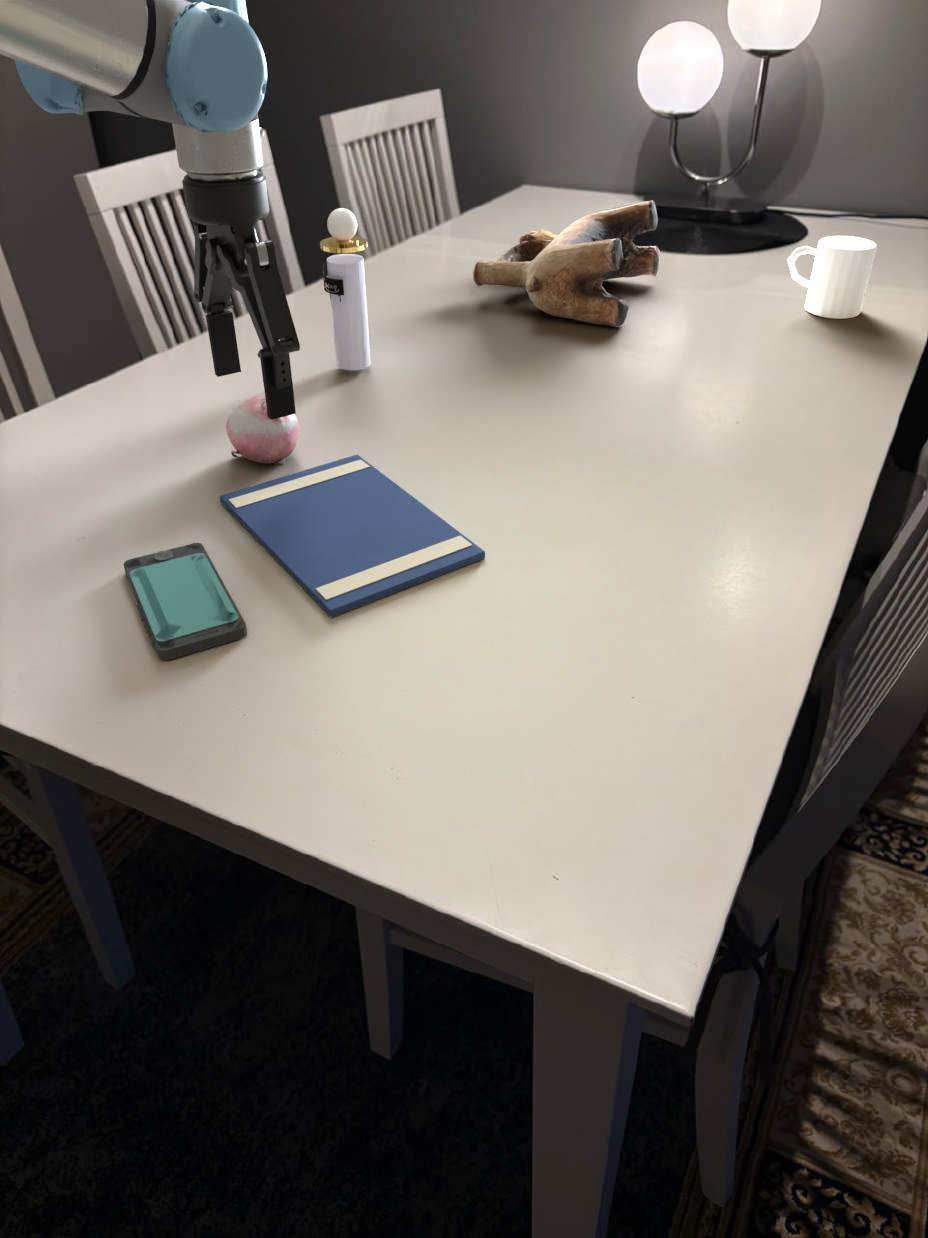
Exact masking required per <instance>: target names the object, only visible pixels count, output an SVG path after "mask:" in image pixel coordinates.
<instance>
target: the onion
mask: <svg viewBox="0 0 928 1238" xmlns="http://www.w3.org/2000/svg"><path fill="white" fill-rule="evenodd" d="M225 429H226V434H227V438H228V439H229V441H230V444H231V445H232V448H230V454H231V456H232V457H233V458H236V459H241V457H240V456H239V455H241V456H242V457H244V458H245V459H247V460H250V461H253V462H256V463H261V464H278V465H279V464H280V465H285V460H286V458H288V457H289V456H290V455H291V454H292V453H293V452H294V450H295V448H296V446H297V442H298V438H299V435H300V423H299V420H298V417H297V414H292V415H288V416H284V417H281V418H277V419H273V420H271V419H269V418H268V414H267V406H266V399H265V394H263V395H262V394H261V395H255V396H252V397H249V398H247V399H245V400H243V401H242V402H240V403H239V404H238V405H236V406H235V407H234V408H233V409H232V411H231V412H230V414H229V415H228V417H227V420H226V425H225Z"/></svg>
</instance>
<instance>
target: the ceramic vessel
mask: <svg viewBox="0 0 928 1238" xmlns="http://www.w3.org/2000/svg"><path fill="white" fill-rule="evenodd" d="M657 212H658V211H657V206H656V203H655V201H654V200H652V199H651V200H647V201H642V202H638V203H635V204H634V203H633V204H629V205H625V206H622V207H618V208H617V207H616V208H613V209H612V208H611V209H608V210H603V211H599V212H594V213H590V214H587V215H585V216H582V217H580V218H579V219H578V218H577V220H575V221H574V222H572V223H571V224H570V225H568V226H567V227H565V228H564V229H563V230H562V231H561V232H560V233H559V234H555V233H552V232H551V231H550V230H548V229H545V228H543V229H538V230H537V231H535V230H533V231H529V232H528V233H526V234H523V235H521V236H520V237H519V240H518V244H515V245H514V246H511V247H510V248H508V249H507V250H505V251H504V252H503V253H502V254H501V256H500V257H499V258H498V259H497V260H478V261H476V263H475V264H474V266H473V269H472V279H473V282H474V284H476V287H481V286H499V287H500V286H501V287H507V288H523V289H525V290H526V291H527V294H528V298H529V300H530V301H531V303H532V304H533V305H534V307H535V308H536V309H538V310H540V311H542V312H543V313H545V314H547V315H549V316H551V317H552V316H553V317H556V318H564V319H570V320H576V321H579V322H583V323H586V324H593V325H600V326H612V327H617V328H619V327H622V326H623V324H625V321H626V319H627V317H628V312H629V308H630V307H629V304H628V301H626V300H625V299H624V298H623V299H621V298H618V297H616V296H614V295H613V294H611V293H609V292H607V290H606V289H605V288H604V286H602V285H603V282H604V281H608V280H612V279H613V280H614V279H621V278H635V277H641V276H651V277H656V276H657V274H658V272H659V268H660V261H661V251H660V249H659V247H658V246H657V245H654V246H653V245H647V246H646V245H645V246H641V245H640V246H639V245H636V244H635V243H634V242H633V241H634V238H637V236H639V235H641V234H644V233H648V232H651V231H656V229H657V226H658V221H659V217H658V213H657Z"/></svg>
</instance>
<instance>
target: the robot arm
mask: <svg viewBox="0 0 928 1238" xmlns="http://www.w3.org/2000/svg"><path fill="white" fill-rule="evenodd" d="M246 4H247V2H246V0H0V55H1V56H4V57H6V58H9V59H11V60H13V61H14V63H15V67H16V70H17V74H18V76H19V78H20V80H21V83H22V85H23V87H24V89H25V90H26V92H27V94H28V95H29V97H30V98H31V99H32V101H33V102H34V103H35V104H36V105H37V107H39V108H40V109H42V111H45V112H47V113H49V114H55V115H56V114H57V115H58V114H76V115H79V116H82V115H83V116H84V114H85V113H89V112H97V111H98V112H100V111H101V112H103V111H104V112H113V113H118V114H123V115H128V116H133V117H138V118H142V119H147V120H158V121H162V122H166V123H169V124H171V126H172V132H173V138H174V139H173V140H174V145H175V151H176V157H177V163H178V167H179V169H180V170H182V171H183V172H185V173H186V174H185V175H184V176H183V179H181V183H182V188H183V189H182V190H183V195H184V201H185V208H186V214H187V217H188V218H189V219H190V220H191V221H192V227H193V233H194V273H193V275H194V276H193V277H194V278H193V281H194V282H193V283H194V284H193V297H194V300H195V302H196V303H197V304H198V303H200V304H201V309H202V311H203V313H204V314H205V320H206V326H207V333H208V339H209V345H210V350H211V356H212V363H213V369H214V375H215V377H217V378H220V377H223V376H229V375H234V374H237V373H242V368H241V362H240V355H239V348H238V340H237V334H236V326H235V321H234V313H233V312H232V311H230V310H229V309H234V308H235V305H234V303H233V302H232V299H231V296H232V292H233V289H234V290H235V291H236V292H238V293H240V294H241V297H242V299H243V302H244V304H245V307H246V309H247V312H248V315H249V317H250V320H251V322H252V326H253V328H254V330H255V332H256V335H257V337H258V340H259V342H260V345H261V347H262V348H260V349H259V350H258V352H257V354H256V355H257V357H258V359H259V360H260V367H261V375H262V382H263V389H264V390H263V391H264V395H265V399H266V406H267V414H268V418H269V419H271V420H273V419H277V418H281V417H284V416H288V415H292V414H295V415H297V414H296V413H297V411H296V402H295V393H294V387H293V386H294V385H293V376H292V367H291V357H290V354H291V353H294V352H299V351H300V350H301V344H300V341H299V337H298V334H297V330H296V326H295V323H294V320H293V316H292V313H291V310H290V305H289V303H288V299H287V296H286V291H285V289H284V285H283V281H282V278H281V275H280V271H279V267H278V262H277V255H276V250H275V249H276V248H275V245H274V242H273V241H272V239H269V240H261V241H259V238H258V235H257V230H256V225H257V223H258V222H259V221H263V220H265V219H266V218H267V217H268V216H269V214H270V204H269V196H268V186H267V178H266V176H265V175H264V174H263V172H261V171H259V170H260V169H261V168H262V167H263V166H264V156H263V147H262V139H263V138H264V137H265V131H264V129H263V128H262V127H260V122H259V121H260V120H259V110H260V109H261V107H262V105H263V102H264V99H265V94H266V92H267V83H268V66H267V60H266V56H265V52H264V49H263V45H262V43H261V41H260V39H259V37H258V36H257V34H256V32H255V30H254V29H253V28H252V27H251V25H250V22H249V17H248V9H247V5H246ZM225 310H227V311H225Z"/></svg>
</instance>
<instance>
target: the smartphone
mask: <svg viewBox="0 0 928 1238" xmlns="http://www.w3.org/2000/svg"><path fill="white" fill-rule="evenodd" d="M122 566H123V569H124V572H125V575H126V578H127V580H128V583H129V585H130V588H131V590H132V593H133V595H134V598H135V600H136V608H137V611H138V614H139V616H140V619H141V621H142V622H143V626H144V629H145V631H146V634H147V636H148V639H149V641H150V644H151V646H153V647H154V648H155V650H156V653H157V655H158V658H159V659H160V660H162V661H170V660H173V659H177V658H179V657H180V658H181V657H183V656H186V655H190V654H193V653H196V652H200V651H204V650H206V649H210V648H213V647H217V646H220V645H224V644H227V643H230V642H233V641H237V640H240V639H241V640H242V639H243V638H245V637H246V636H247V635H248V628H247V624H246V621H245V619H244V618H243V615H242V614H241V612H240V611H239V609H238V607H237V605H236V603H235V601H234V599H233V598H232V596H231V594H230V592H229V590H228V588H227V587H226V585H225V583H224V581H223V579H222V578H221V576H220V574H219V572H218V571H217V568H216V567H215V566H214V563H213V561H212V559H211V558H210V556H209V554H208V552H207V550H206V548H205V547H204V545H203V543H201V542H192V543H189V544H186V545H181V546H178V547H174V548H170V549H164V550H159V551H157V552H153V553H150V554H146V555H142V556H137V557H133V558H129V559H126V560H125V561H124V562H123V563H122Z"/></svg>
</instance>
